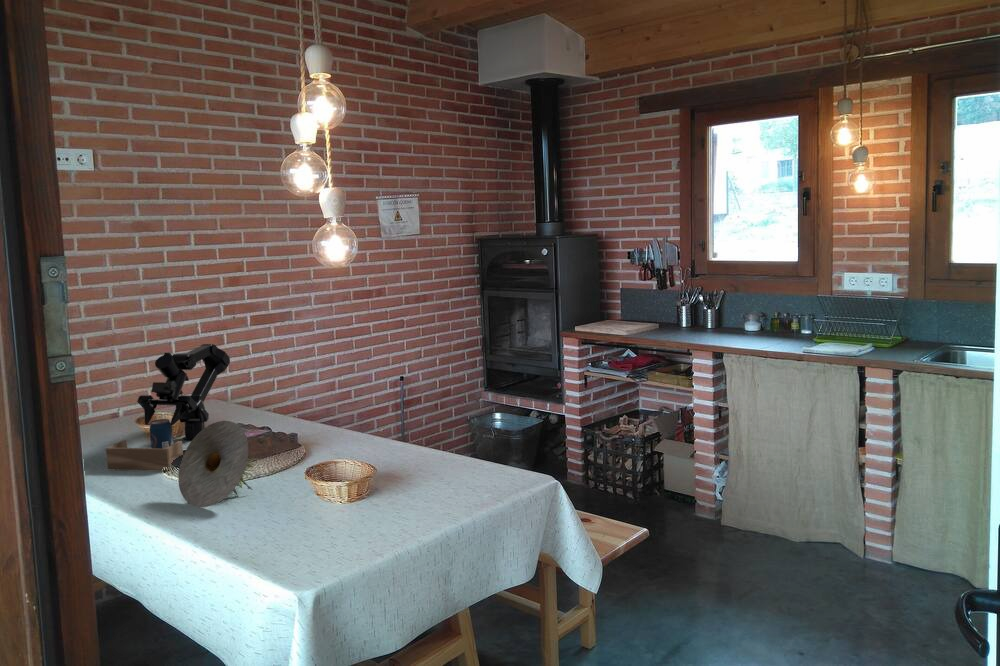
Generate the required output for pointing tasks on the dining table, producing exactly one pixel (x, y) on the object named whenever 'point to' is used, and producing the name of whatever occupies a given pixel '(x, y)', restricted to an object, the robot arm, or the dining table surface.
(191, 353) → the robot arm
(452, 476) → the dining table surface
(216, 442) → the disc
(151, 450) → the wooden u-shaped frame
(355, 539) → the dining table surface
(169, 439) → the soda can
